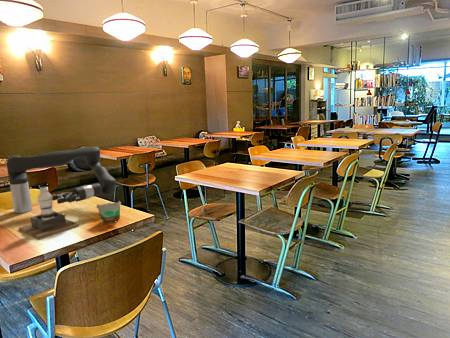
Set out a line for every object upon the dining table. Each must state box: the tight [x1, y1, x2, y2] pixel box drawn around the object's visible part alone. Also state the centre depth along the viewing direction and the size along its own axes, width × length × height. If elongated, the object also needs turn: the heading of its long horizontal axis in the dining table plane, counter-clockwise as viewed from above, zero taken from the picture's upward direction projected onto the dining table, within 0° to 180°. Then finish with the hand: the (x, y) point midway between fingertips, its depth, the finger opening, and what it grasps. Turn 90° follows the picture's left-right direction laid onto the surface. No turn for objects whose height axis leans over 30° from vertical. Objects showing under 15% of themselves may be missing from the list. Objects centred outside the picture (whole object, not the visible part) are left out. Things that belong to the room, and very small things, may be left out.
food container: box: [96, 200, 122, 224], centre depth 180 cm, size 12×6×10 cm, turn 117°
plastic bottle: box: [37, 186, 55, 220], centre depth 173 cm, size 6×7×20 cm
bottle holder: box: [18, 210, 80, 240], centre depth 174 cm, size 22×20×6 cm
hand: (53, 200), depth 175 cm, fingers open, 8 cm apart
